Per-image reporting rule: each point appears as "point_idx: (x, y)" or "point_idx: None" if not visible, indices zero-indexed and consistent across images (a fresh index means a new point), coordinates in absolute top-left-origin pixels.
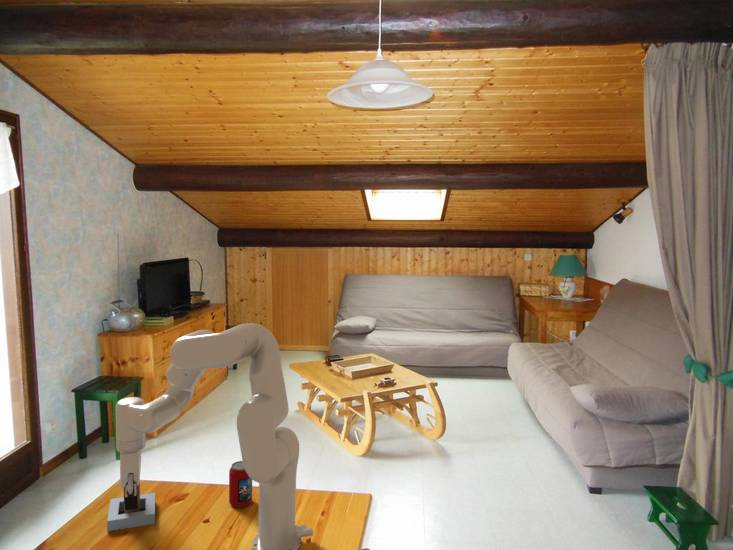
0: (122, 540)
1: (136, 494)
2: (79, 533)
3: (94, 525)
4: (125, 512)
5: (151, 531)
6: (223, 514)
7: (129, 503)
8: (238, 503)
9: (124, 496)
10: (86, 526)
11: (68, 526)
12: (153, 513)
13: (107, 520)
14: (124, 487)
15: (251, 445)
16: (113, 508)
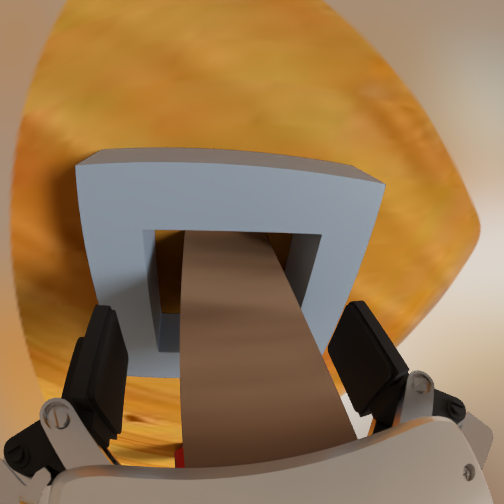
0: (25, 231)
1: (110, 436)
2: (145, 5)
3: (201, 70)
4: (183, 264)
5: (80, 326)
6: (157, 435)
7: (74, 368)
8: (175, 457)
9: (181, 354)
10: (210, 30)
11: None
12: (127, 372)
13: (83, 167)
14: (185, 442)
15: None
16: (248, 197)
